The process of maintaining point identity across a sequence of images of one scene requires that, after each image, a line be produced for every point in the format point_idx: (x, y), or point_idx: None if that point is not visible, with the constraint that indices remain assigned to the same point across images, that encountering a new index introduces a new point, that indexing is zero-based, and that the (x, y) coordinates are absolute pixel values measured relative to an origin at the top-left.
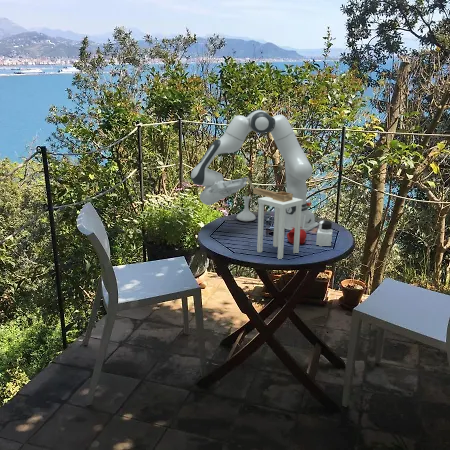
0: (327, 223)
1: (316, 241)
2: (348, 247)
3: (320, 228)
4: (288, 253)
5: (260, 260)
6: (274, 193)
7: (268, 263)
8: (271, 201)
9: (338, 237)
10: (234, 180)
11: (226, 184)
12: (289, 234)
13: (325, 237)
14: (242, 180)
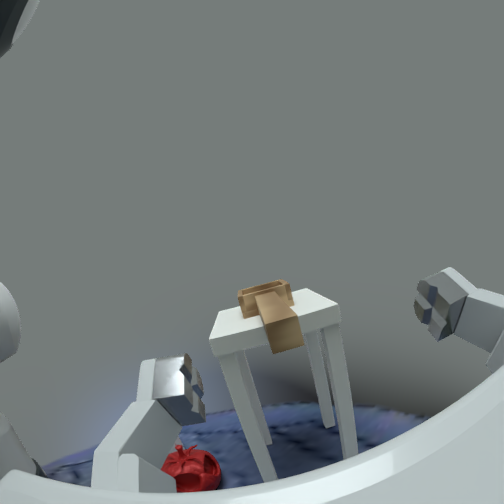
0: None
1: (182, 445)
2: None
3: None
4: (285, 444)
5: (379, 421)
6: (284, 284)
7: (369, 409)
8: (315, 295)
9: None
10: (302, 474)
11: (497, 326)
12: (205, 475)
13: None
14: (193, 410)
